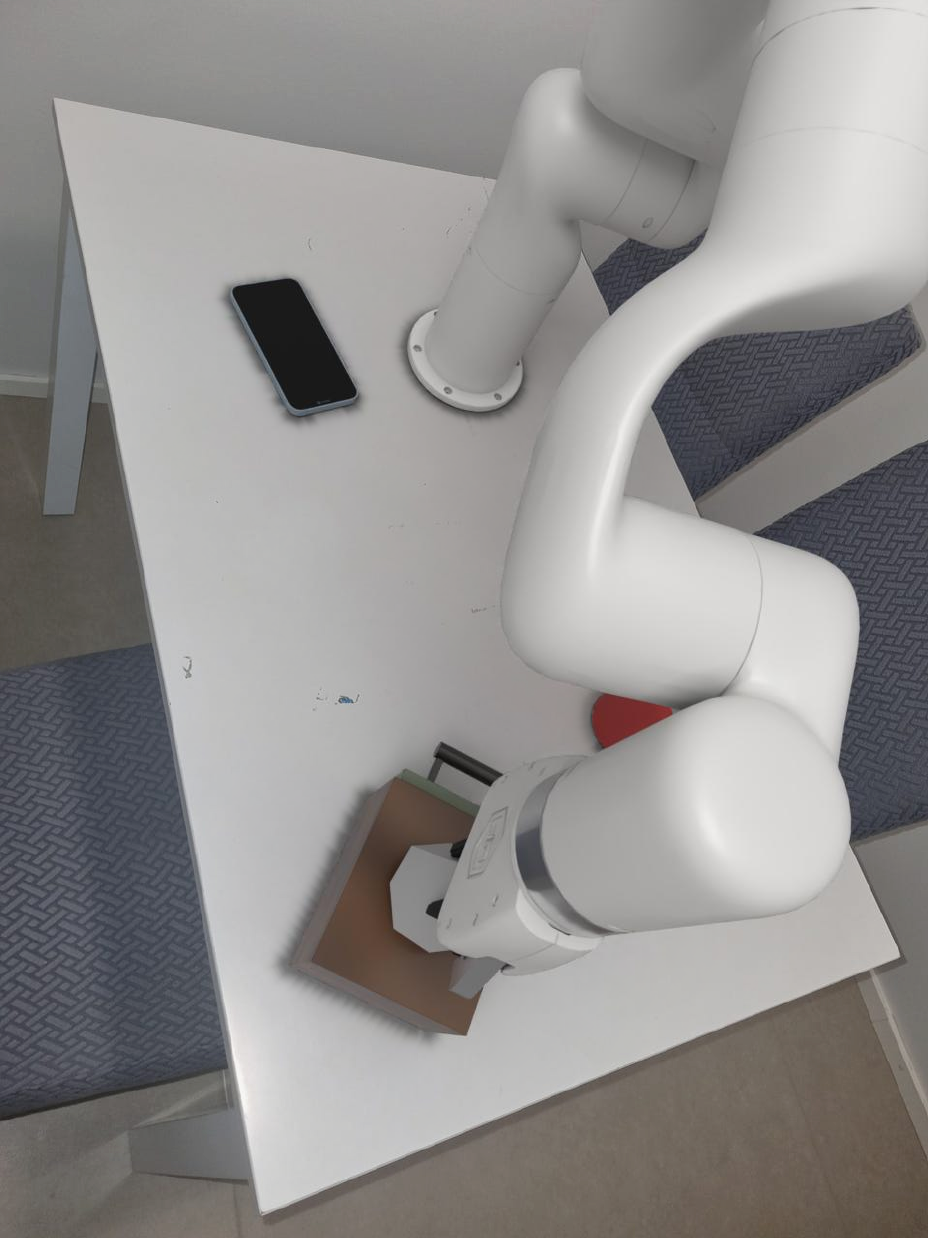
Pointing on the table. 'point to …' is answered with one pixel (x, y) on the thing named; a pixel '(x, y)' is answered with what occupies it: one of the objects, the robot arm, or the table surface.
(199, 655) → the table surface
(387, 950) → the cabinet
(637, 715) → the beer can
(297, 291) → the smartphone
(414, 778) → the drawer
